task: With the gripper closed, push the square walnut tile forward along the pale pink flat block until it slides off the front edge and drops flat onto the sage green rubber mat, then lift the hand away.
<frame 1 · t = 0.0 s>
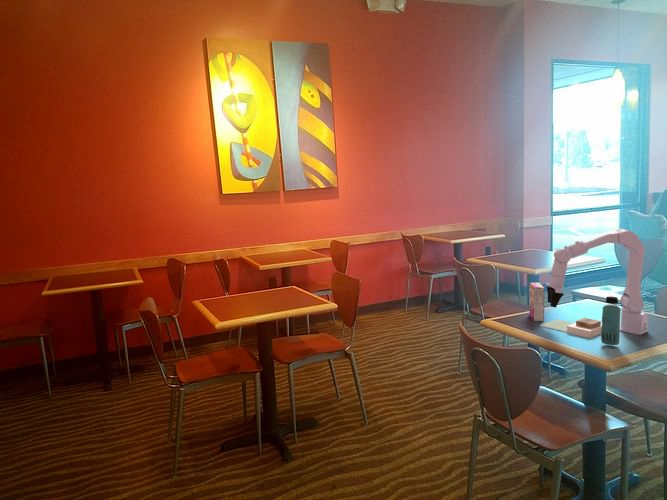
hand: (551, 304, 217), 11 cm above the table, tool pointing down, fingers open, 7 cm apart
pale pink flat block: (586, 331, 211), on the table
mat: (561, 325, 221), on the table
walnut tile: (588, 325, 210), point 3 cm above the table, touching pale pink flat block
beverage bottle: (609, 346, 193), on the table
candy bar box: (536, 318, 234), on the table
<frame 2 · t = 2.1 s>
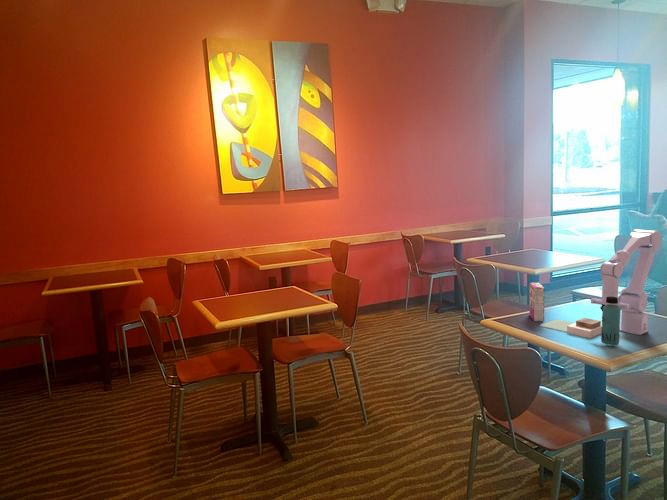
hand: (608, 323, 203), 6 cm above the table, tool pointing down, fingers closed
nothing on the table moved.
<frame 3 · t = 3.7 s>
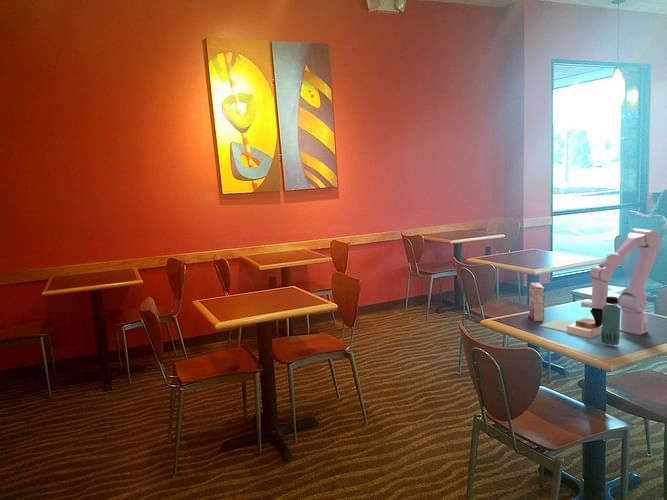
hand: (598, 326, 207), 4 cm above the table, tool pointing down, fingers closed
walnut tile: (587, 325, 210), point 3 cm above the table, touching gripper
everything else where it was.
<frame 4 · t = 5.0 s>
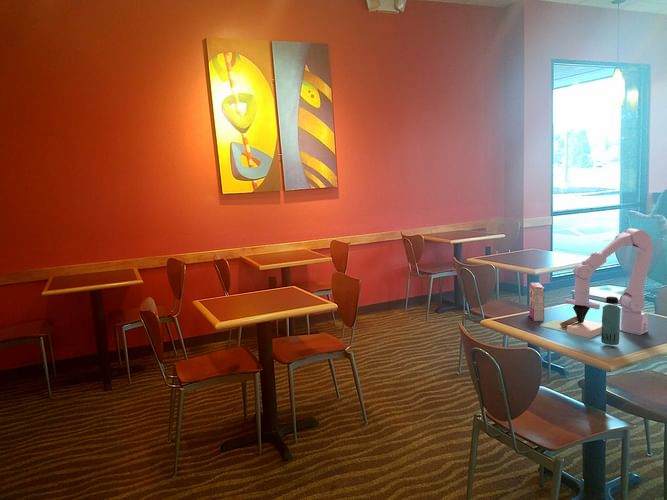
hand: (580, 322, 213), 4 cm above the table, tool pointing down, fingers closed
walnut tile: (572, 323, 216), point 2 cm above the table, tilted 35°, touching gripper
everything else where it was.
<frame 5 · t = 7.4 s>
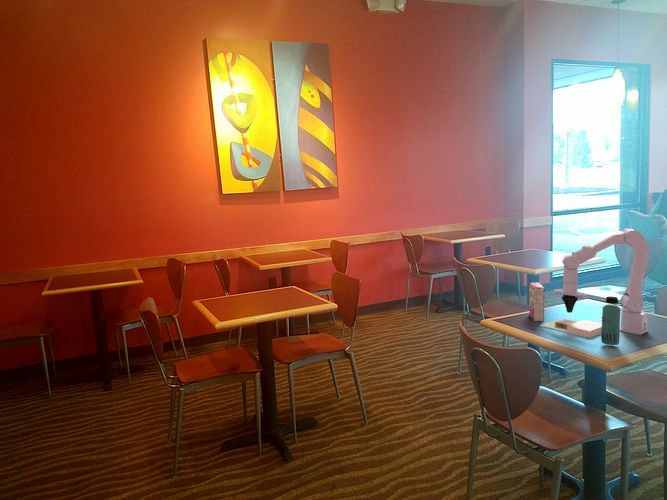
hand: (569, 312, 217), 7 cm above the table, tool pointing down, fingers closed
walnut tile: (566, 326, 218), resting on mat
everything else where it was.
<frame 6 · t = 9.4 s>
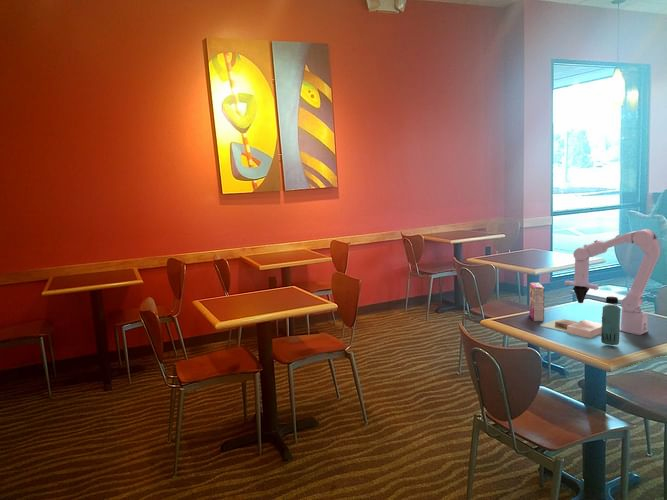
hand: (580, 302, 223), 9 cm above the table, tool pointing down, fingers closed
nothing on the table moved.
at the end: walnut tile resting on mat; walnut tile inside the target area on the mat (2.7 cm from its centre), point 0.4 cm above the mat's base; walnut tile tilted 0° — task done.
